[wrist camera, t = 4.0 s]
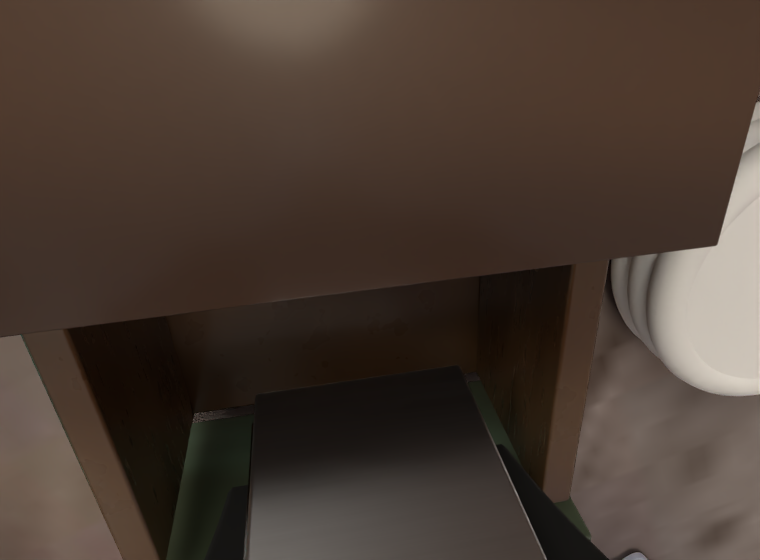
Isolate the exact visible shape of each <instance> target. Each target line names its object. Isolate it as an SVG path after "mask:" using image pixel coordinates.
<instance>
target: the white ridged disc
mask: <svg viewBox="0 0 760 560" xmlns="http://www.w3.org/2000/svg"><path fill="white" fill-rule="evenodd" d="M611 284H612V292H613V295H614V299H615V302H616V305H617V308H618V310H619V312H620V314H621V316H622V318H623V320H624V322H625V324H626V325H627V326H628V327H629V329H630V330H631V331H632V332H633V334H634V335H636V336H637V337H638V338H639V339H640V340H642V341H643V343H644V344H645V345H646V346H647V348H648V349H649V350H650V351H651V352H652V353H653V354H654V355H656V356H657V357H658V358H659V359H660V360H661V361H662V362H663V364H664V365H665V366H666V367H667V369H668V370H669V371H670V372H672V373H673V374H674V375H675V376H676V377H678V378H679V379H681V380H682V381H684V382H686V383H688V384H690V385H692V386H694V387H696V388H697V389H700V390H703V391H706V392H709V393H713V394H719V395H724V396H749V395H758V394H760V101H759V102H756V105H755V109H754V112H753V116H752V120H751V123H750V127H749V131H748V134H747V138H746V142H745V146H744V149H743V153H742V157H741V160H740V164H739V168H738V171H737V175H736V179H735V182H734V186H733V190H732V193H731V197H730V201H729V204H728V208H727V212H726V215H725V219H724V223H723V226H722V230H721V234H720V237H719V241H718V244H717V245H716V246H712V247H704V248H697V249H689V250H681V251H673V252H665V253H657V254H650V255H642V256H634V257H626V258H618V259H612V260H611Z"/></svg>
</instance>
